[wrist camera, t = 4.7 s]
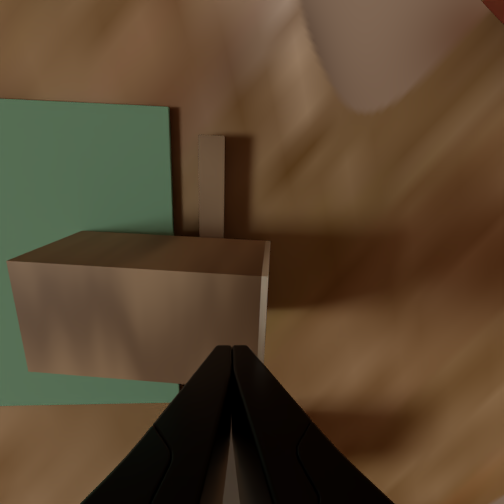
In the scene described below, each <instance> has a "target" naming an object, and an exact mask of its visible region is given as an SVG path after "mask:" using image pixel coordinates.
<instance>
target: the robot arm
mask: <svg viewBox="0 0 504 504" xmlns="http://www.w3.org/2000/svg"><path fill="white" fill-rule="evenodd" d="M231 429H232V443H233V451H234V459H235V467H236V476H237V484H238V492H239V500H240V504H394V503H393V502H392V501H391V500H390V499H389V498H388V497H387V496H386V495H385V494H384V493H383V492H382V491H380V490H379V489H378V488H377V487H376V486H375V485H374V484H373V483H372V482H371V481H370V480H369V479H368V478H367V477H366V476H364V475H363V474H362V473H361V472H360V471H359V470H358V469H357V468H356V467H355V466H354V465H353V464H352V463H351V462H350V461H349V460H348V459H347V458H346V457H345V456H344V455H343V454H342V453H341V452H340V451H339V450H338V449H337V448H336V447H335V446H334V445H333V444H332V443H331V441H330V440H329V439H328V438H327V437H326V436H325V435H324V434H323V433H322V431H321V430H320V429H319V428H318V427H317V426H316V424H315V423H314V422H312V420H311V419H310V418H309V417H308V415H307V414H306V413H305V412H304V411H303V410H302V408H301V407H300V406H299V405H298V404H297V403H296V401H295V400H294V399H293V398H292V397H291V396H290V394H289V393H288V392H287V391H286V390H285V389H284V387H283V386H282V385H281V384H280V383H279V382H278V380H277V379H276V378H275V377H274V376H273V375H272V373H271V372H270V371H269V370H268V369H267V368H266V366H265V365H264V364H263V363H262V362H261V361H260V360H259V358H258V357H257V356H256V355H255V354H254V353H253V351H252V350H251V349H250V348H249V347H248V346H247V345H234V346H233V347H231V346H230V345H217V346H216V347H215V348H214V349H213V350H212V352H211V353H210V354H209V355H208V357H207V358H206V359H205V360H204V362H203V363H202V364H201V365H200V367H199V368H198V369H197V370H196V372H195V373H194V374H193V375H192V377H191V378H190V379H189V380H188V382H187V383H186V384H185V385H184V387H183V388H182V389H181V390H180V392H179V393H178V394H177V395H176V396H175V398H174V399H173V400H172V401H171V403H170V404H169V405H168V406H167V408H166V409H165V410H164V411H163V413H162V414H161V415H160V416H159V418H158V419H157V420H156V421H155V423H154V424H153V426H151V427H150V428H149V430H148V431H147V432H146V434H145V435H144V436H143V437H142V438H141V440H140V441H139V442H138V443H137V444H136V446H135V447H134V448H133V449H132V450H131V451H130V453H129V454H128V455H127V456H126V457H125V458H124V459H123V460H122V461H121V462H120V463H119V465H118V466H117V467H116V468H115V469H114V470H113V471H112V472H111V473H110V474H109V475H108V476H107V477H106V478H105V479H104V480H103V481H102V482H101V483H100V484H99V485H98V486H97V487H96V488H95V489H94V490H93V491H92V492H91V493H90V494H89V495H88V496H87V497H86V498H85V499H84V500H83V501H82V502H81V503H80V504H222V503H223V495H224V487H225V479H226V471H227V463H228V455H229V446H230V437H231Z"/></svg>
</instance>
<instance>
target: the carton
mask: <svg viewBox="0 0 504 504" xmlns="http://www.w3.org/2000/svg"><path fill="white" fill-rule="evenodd" d="M481 1H482V2H483V3H484V4H485V5H486V7H487V8H488V9H489V10H491V11H492V13H493V14H494V15H495V16H496V17H497V18H498V19H499V20H500V21H501V22H502V23H503V24H504V0H481Z"/></svg>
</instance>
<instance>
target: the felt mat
mask: <svg viewBox="0 0 504 504" xmlns="http://www.w3.org/2000/svg"><path fill="white" fill-rule="evenodd" d="M80 231H96V232H114V233H133V234H151V235H170V236H174V217H173V190H172V162H171V134H170V108H169V107H161V106H141V105H120V104H99V103H79V102H58V101H38V100H17V99H0V406H15V405H65V404H115V403H165V402H171V401H172V400H173V399H174V398H175V396H176V395H177V394H178V393H179V392H180V384H175V383H163V382H151V381H138V380H126V379H114V378H102V377H89V376H77V375H65V374H52V373H40V372H28V367H27V362H26V357H25V352H24V347H23V342H22V337H21V332H20V327H19V322H18V317H17V312H16V307H15V302H14V297H13V292H12V287H11V282H10V277H9V273H8V268H7V263H6V261H7V260H10V259H12V258H15V257H17V256H20V255H22V254H25V253H27V252H30V251H32V250H35V249H37V248H40V247H42V246H45V245H47V244H50V243H52V242H55V241H57V240H60V239H62V238H65V237H67V236H70V235H72V234H75V233H77V232H80Z"/></svg>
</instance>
